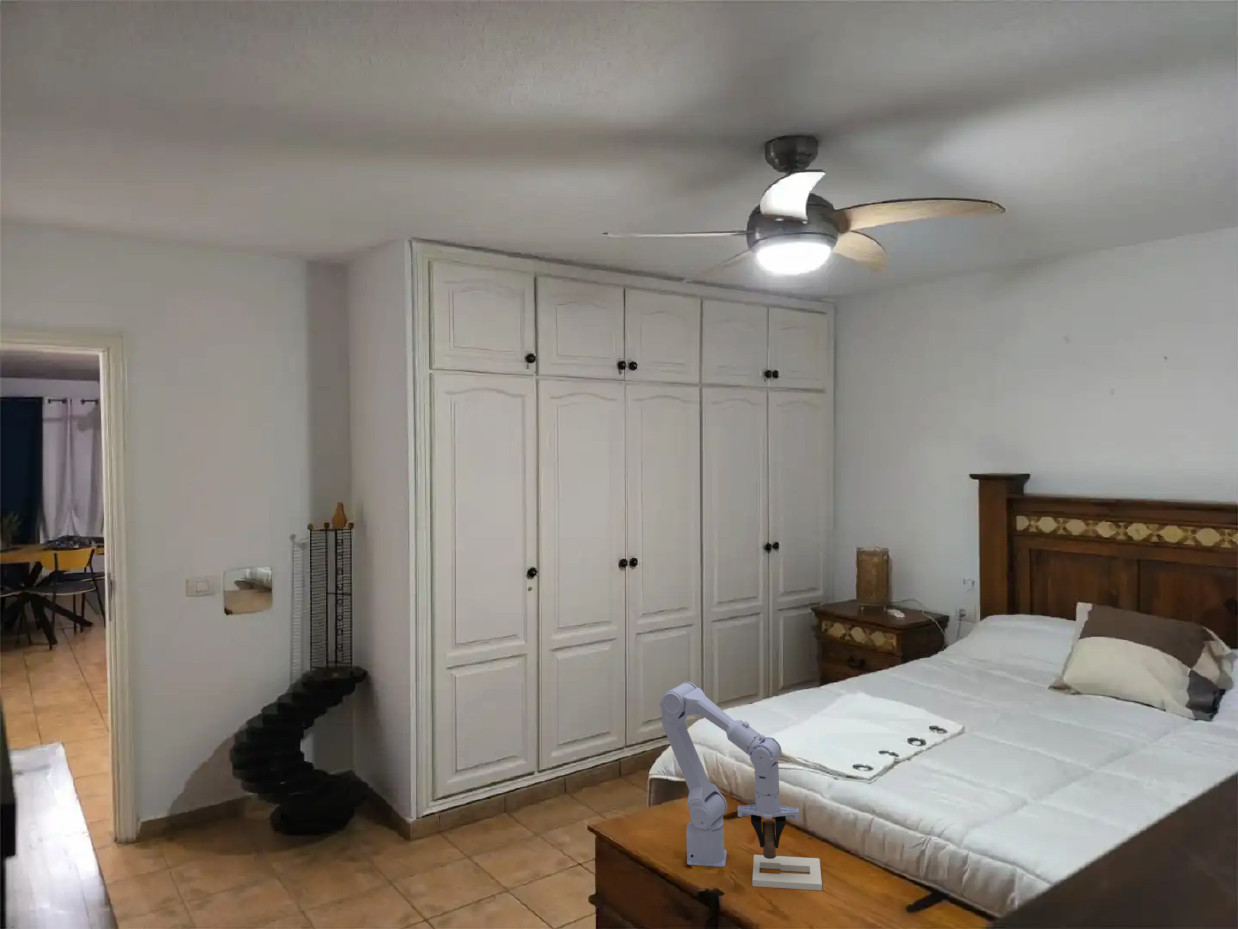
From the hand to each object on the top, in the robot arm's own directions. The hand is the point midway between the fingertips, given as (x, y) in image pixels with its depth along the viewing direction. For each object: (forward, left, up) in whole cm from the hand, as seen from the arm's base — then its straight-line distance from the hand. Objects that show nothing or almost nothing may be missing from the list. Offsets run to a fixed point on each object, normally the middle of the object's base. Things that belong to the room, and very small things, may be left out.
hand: (769, 846), depth 203 cm
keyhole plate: (+4, 0, -7) cm, 8 cm away
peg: (0, 0, -2) cm, 3 cm away
